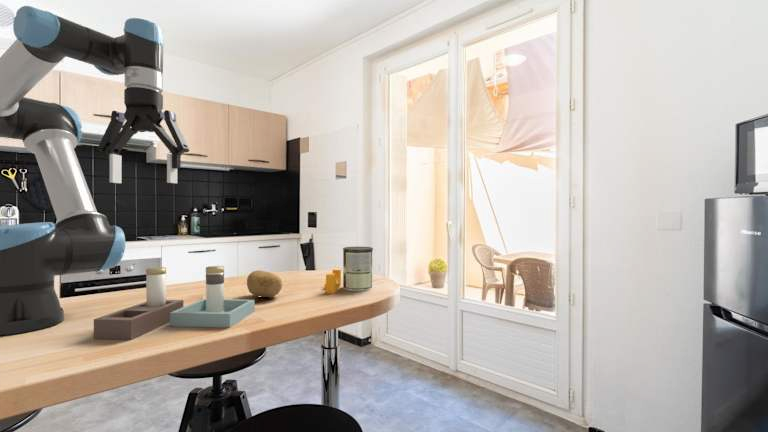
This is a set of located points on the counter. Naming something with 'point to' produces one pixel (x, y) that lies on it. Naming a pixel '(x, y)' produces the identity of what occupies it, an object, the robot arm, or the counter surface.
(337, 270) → the pipe clamp
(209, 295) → the fuse
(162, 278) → the fuse
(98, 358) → the counter surface
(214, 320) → the parts tray
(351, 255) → the coffee can
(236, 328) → the counter surface
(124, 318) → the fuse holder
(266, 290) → the potato
